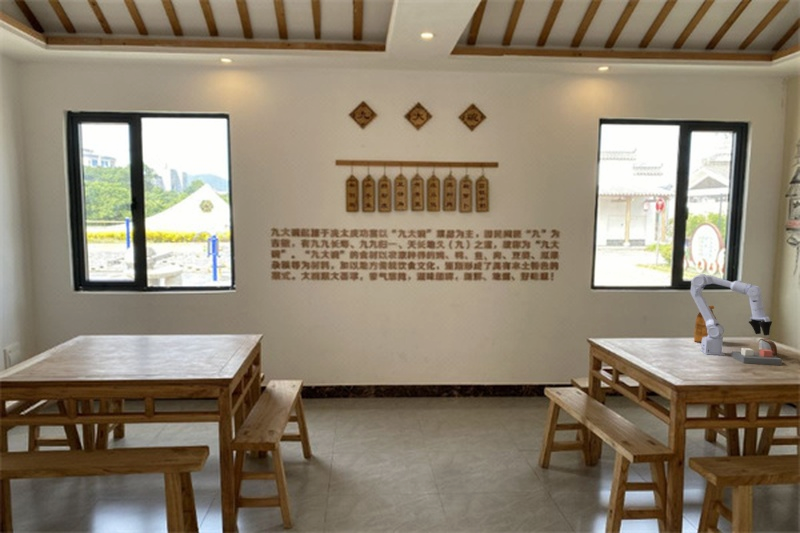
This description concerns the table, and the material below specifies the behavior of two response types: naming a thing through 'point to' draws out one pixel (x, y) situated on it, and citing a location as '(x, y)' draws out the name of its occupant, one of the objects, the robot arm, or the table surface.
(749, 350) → the white cube
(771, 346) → the tin
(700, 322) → the coffee package
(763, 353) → the red button
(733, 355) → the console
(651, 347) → the table surface
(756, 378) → the table surface
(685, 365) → the table surface
